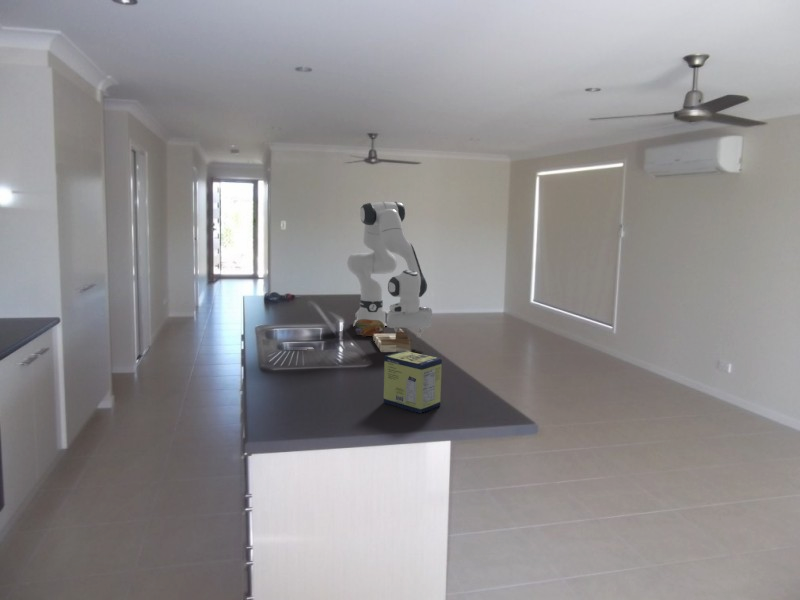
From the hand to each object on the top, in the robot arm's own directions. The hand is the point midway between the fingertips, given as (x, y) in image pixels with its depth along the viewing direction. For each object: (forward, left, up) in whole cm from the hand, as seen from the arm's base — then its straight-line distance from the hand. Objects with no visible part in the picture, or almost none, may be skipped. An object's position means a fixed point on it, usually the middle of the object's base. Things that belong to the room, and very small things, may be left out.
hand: (408, 337), depth 263 cm
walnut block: (+3, -4, -2) cm, 5 cm away
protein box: (+78, -15, -5) cm, 79 cm away
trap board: (-4, -7, -5) cm, 9 cm away
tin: (-25, -14, -5) cm, 29 cm away
